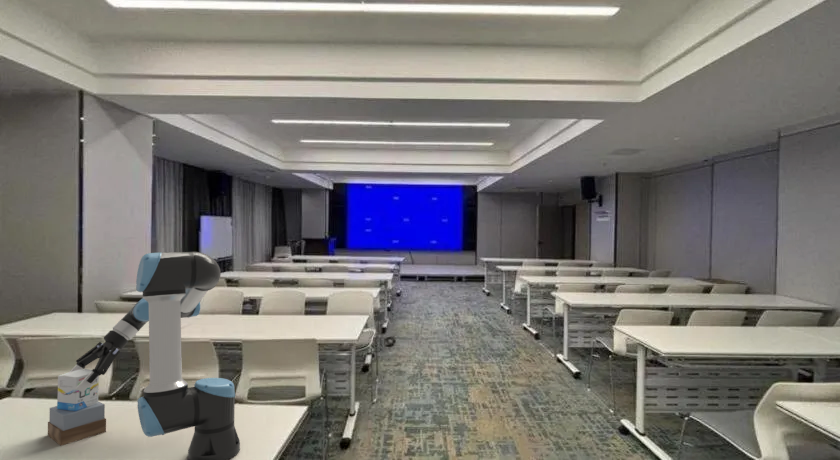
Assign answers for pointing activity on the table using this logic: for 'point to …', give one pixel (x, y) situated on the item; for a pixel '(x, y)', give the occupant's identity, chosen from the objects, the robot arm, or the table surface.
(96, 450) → the table surface
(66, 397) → the ink box
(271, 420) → the table surface
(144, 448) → the table surface
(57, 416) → the grey top slab
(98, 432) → the walnut base slab
